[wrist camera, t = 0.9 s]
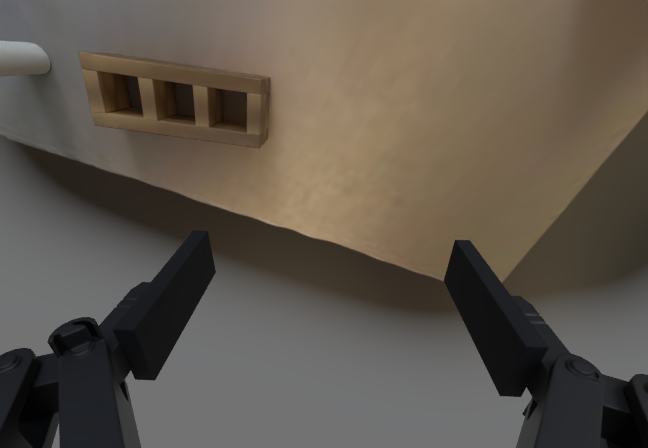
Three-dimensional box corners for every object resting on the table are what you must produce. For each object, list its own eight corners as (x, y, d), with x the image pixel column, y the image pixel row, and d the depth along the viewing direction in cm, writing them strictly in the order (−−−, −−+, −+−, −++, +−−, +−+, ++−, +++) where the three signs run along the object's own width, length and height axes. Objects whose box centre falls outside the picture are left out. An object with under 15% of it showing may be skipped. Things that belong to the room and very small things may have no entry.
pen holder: (108, 53, 36) (77, 52, 32) (270, 77, 37) (261, 79, 32) (121, 118, 40) (94, 125, 35) (267, 139, 40) (259, 148, 36)
